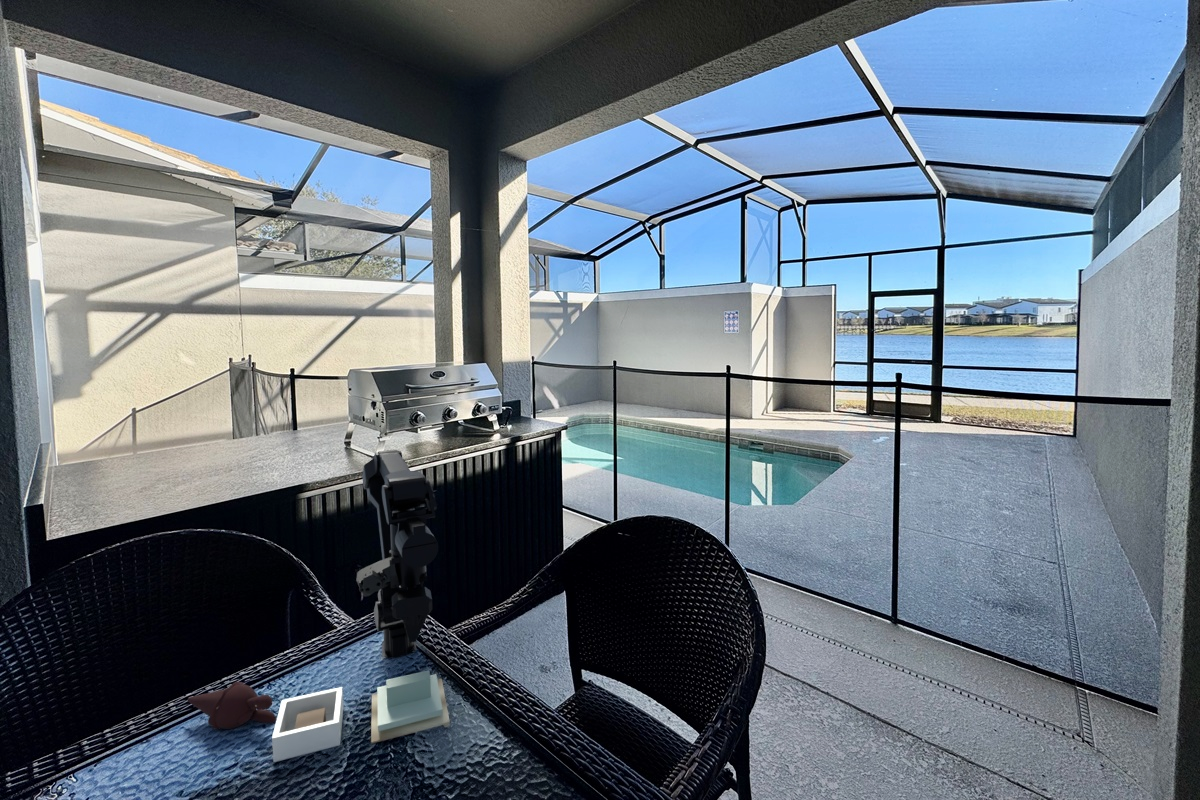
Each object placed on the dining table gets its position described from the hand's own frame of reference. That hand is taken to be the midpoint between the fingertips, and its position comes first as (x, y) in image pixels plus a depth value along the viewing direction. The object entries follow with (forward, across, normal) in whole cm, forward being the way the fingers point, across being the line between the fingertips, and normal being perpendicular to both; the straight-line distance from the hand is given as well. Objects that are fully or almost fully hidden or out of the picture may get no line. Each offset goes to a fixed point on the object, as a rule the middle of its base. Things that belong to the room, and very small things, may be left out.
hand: (411, 628), depth 96 cm
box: (+12, +6, -16) cm, 21 cm away
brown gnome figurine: (+12, -2, -28) cm, 31 cm away
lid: (+11, +6, -1) cm, 13 cm away
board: (+12, +6, -1) cm, 13 cm away
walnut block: (+11, +6, -16) cm, 21 cm away
